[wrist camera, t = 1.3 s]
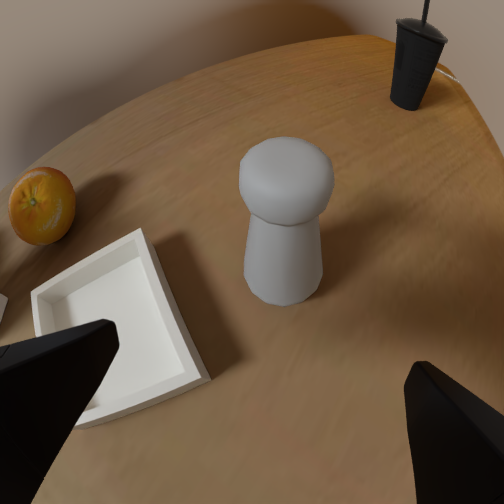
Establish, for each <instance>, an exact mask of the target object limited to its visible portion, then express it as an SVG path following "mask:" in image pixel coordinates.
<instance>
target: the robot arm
mask: <svg viewBox="0 0 504 504" xmlns="http://www.w3.org/2000/svg"><path fill="white" fill-rule="evenodd" d="M119 346H120V342H119V337H118V332H117V327H116V324H115V322H114V321H111V320H108V319H99V320H96V321H92V322H89V323H85V324H82V325H78V326H75V327H71V328H68V329H64V330H61V331H57V332H54V333H50V334H46V335H43V336H39V337H35V338H32V339H28V340H24V341H21V342H17V343H13V344H11V345H10V344H9V345H5V346H1V347H0V504H31V502H32V500H33V499H34V497H35V495H36V493H37V491H38V489H39V487H40V485H41V483H42V482H43V480H44V477H45V476H46V474H47V472H48V470H49V469H50V467H51V465H52V463H53V462H54V460H55V458H56V456H57V455H58V453H59V451H60V450H61V448H62V446H63V444H64V443H65V441H66V439H67V438H68V436H69V434H70V433H71V431H72V429H73V428H74V426H75V425H76V423H77V421H78V420H79V418H80V416H81V415H82V413H83V412H84V410H85V408H86V407H87V405H88V404H89V402H90V401H91V399H92V397H93V396H94V394H95V393H96V391H97V390H98V388H99V386H100V385H101V383H102V381H103V379H104V377H105V375H106V373H107V371H108V369H109V367H110V365H111V363H112V362H113V360H114V358H115V356H116V354H117V352H118V350H119ZM404 397H405V407H406V419H407V431H408V438H409V444H410V450H411V457H412V464H413V471H414V479H415V488H416V499H417V504H504V416H503V415H502V414H501V413H499V412H498V411H496V410H495V409H494V408H492V407H491V406H490V405H488V404H487V403H485V402H484V401H483V400H481V399H480V398H478V397H477V396H476V395H474V394H473V393H472V392H470V391H469V390H467V389H466V388H465V387H463V386H462V385H460V384H459V383H458V382H456V381H455V380H453V379H452V378H451V377H449V376H448V375H446V374H445V373H444V372H442V371H441V370H439V369H438V368H437V367H435V366H434V365H432V364H431V363H430V362H428V361H416V362H415V363H414V364H413V366H412V368H411V370H410V372H409V375H408V377H407V379H406V381H405V384H404Z"/></svg>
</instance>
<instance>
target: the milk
mask: <svg viewBox="0 0 504 504" xmlns="http://www.w3.org/2000/svg"><path fill="white" fill-rule="evenodd" d="M7 301H8V298H7V297H6V296H4V295H2V294H1V293H0V323H1V320H2V317H3V313H4V310H5V307H6V304H7Z"/></svg>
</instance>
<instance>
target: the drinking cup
mask: <svg viewBox="0 0 504 504" xmlns="http://www.w3.org/2000/svg"><path fill="white" fill-rule="evenodd" d="M429 3H430V0H425V3H424V9H423V15H422V20H418V19H413V18H405V19H397V20H396V24H397V38H396V51H395V61H394V70H393V79H392V87H391V94H390V99H391V101H392V102H393V103H394V104H396V105H397V106H399V107H401V108H403V109H406V110H411V111H415V110H417V109H418V107H419V105H420V103H421V100H422V98H423V96H424V94H425V91H426V89H427V87H428V85H429V82H430V80H431V77H432V75H433V73H434V70H435V68H436V65H437V63H438V60H439V58H440V55H441V53H442V50H443V47H444V45H445V43H447V42H448V39H447V38H446V37H445V36H444V35H443V34H442V33H441V32H440V31H439V30H438V29H436V28H435V27H434V26H432V25H430V24H429V23H427V22H426V20H427V14H428V9H429Z"/></svg>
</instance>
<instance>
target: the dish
mask: <svg viewBox="0 0 504 504" xmlns="http://www.w3.org/2000/svg"><path fill="white" fill-rule="evenodd" d="M31 301H32V311H33V319H34V327H35V334H36V337H39V336H43V335H46V334H50V333H54V332H57V331H61V330H64V329H68V328H71V327H75V326H78V325H82V324H85V323H89V322H92V321H96V320H99V319H108V320H111V321H114V322H115V324H116V327H117V332H118V337H119V342H120V346H119V350H118V352H117V354H116V356H115V358H114V360H113V362H112V363H111V365H110V367H109V369H108V371H107V373H106V375H105V377H104V379H103V381H102V383H101V385H100V386H99V388H98V390H97V391H96V393H95V394H94V396H93V397H92V399H91V401H90V402H89V404H88V405H87V407H86V408H85V410H84V412H83V413H82V415H81V416H80V418H79V420H78V421H77V423H76V425H75V426H74V428H73V429H72V430H83V429H86V428H89V427H93V426H96V425H99V424H102V423H105V422H108V421H111V420H114V419H117V418H120V417H123V416H126V415H128V414H131V413H134V412H136V411H139V410H142V409H144V408H147V407H150V406H152V405H155V404H157V403H160V402H162V401H165V400H167V399H170V398H172V397H174V396H177V395H179V394H181V393H184V392H186V391H188V390H191V389H193V388H195V387H197V386H200V385H202V384H204V383H206V382H208V381H211V378H210V376H209V374H208V372H207V370H206V368H205V366H204V364H203V361H202V359H201V357H200V355H199V353H198V351H197V349H196V347H195V345H194V342H193V340H192V338H191V336H190V334H189V331H188V329H187V327H186V325H185V323H184V320H183V318H182V316H181V313H180V311H179V309H178V306H177V304H176V302H175V299H174V297H173V294H172V292H171V289H170V287H169V285H168V282H167V280H166V277H165V274H164V272H163V269H162V267H161V264H160V261H159V259H158V256H157V253H156V251H155V248H154V246H153V245H152V243H151V242H150V240H149V239H148V238H147V236H146V235H145V233H144V232H143V230H142V229H141V228H139V229H137V230H135V231H133V232H132V233H130V234H128V235H126V236H124V237H122V238H120V239H118V240H117V241H115V242H113V243H111V244H109V245H108V246H106V247H104V248H102V249H100V250H99V251H97V252H95V253H93V254H92V255H90V256H88V257H86V258H85V259H83V260H81V261H80V262H78V263H76V264H74V265H73V266H71V267H69V268H68V269H66V270H64V271H63V272H61V273H60V274H58V275H56V276H55V277H53V278H51V279H50V280H48V281H47V282H45V283H43V284H42V285H40V286H39V287H37V288H36V289H34V290H33V291H31Z"/></svg>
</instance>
